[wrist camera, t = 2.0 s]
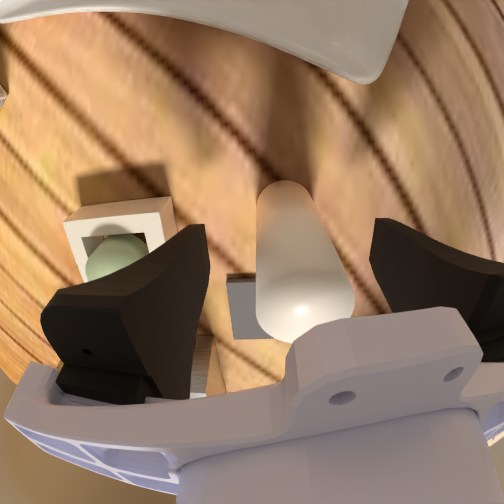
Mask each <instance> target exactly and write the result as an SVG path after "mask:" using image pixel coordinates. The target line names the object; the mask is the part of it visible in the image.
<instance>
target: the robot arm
mask: <svg viewBox="0 0 504 504" xmlns="http://www.w3.org/2000/svg"><path fill="white" fill-rule="evenodd" d="M369 261H370V264H371V267H372V270H373V273H374V275H375V278H376V280H377V282H378V284H379V286H380V288H381V290H382V292H383V294H384V296H385V298H386V300H387V302H388V304H389V306H390V308H391V310H392V312H393V313H390V314H382V315H373V316H363V317H353V318H342V319H338V320H334V321H330V322H326V323H323V324H319V325H316V326H314V327H313V328H311V329H310V330H308V331H307V332H305V333H304V334H303V335H301V336H300V337H298V338H297V339H295V340H294V341H293V343H292V345H291V348H290V350H289V352H288V354H287V356H286V364H285V375H284V379H283V381H282V382H279V383H275V384H270V385H266V386H261V387H257V388H252V389H247V390H242V391H237V392H231V393H226V394H220V395H214V396H207V397H201V398H194V399H190V387H191V372H192V362H193V352H194V344H195V336H196V330H197V326H198V322H199V318H200V314H201V310H202V307H203V303H204V299H205V295H206V292H207V288H208V282H209V274H210V260H209V253H208V247H207V240H206V233H205V225H204V224H193V225H188V226H187V227H185V228H184V229H182V230H181V231H180V232H178V233H177V234H176V235H174V236H173V237H172V238H170V239H169V240H168V241H166V242H165V243H164V244H162V245H161V246H159V247H158V248H156V249H155V250H153V251H152V252H150V253H149V254H147V255H146V256H144V257H143V258H141V259H139V260H137V261H136V262H134V263H132V264H130V265H128V266H126V267H124V268H122V269H119V270H117V271H115V272H113V273H111V274H108V275H106V276H103V277H101V278H98V279H95V280H92V281H89V282H86V283H82V284H79V285H75V286H71V287H67V288H63V289H58V290H57V292H56V293H55V295H54V296H53V297H52V299H51V300H50V301H49V303H48V304H47V306H46V307H45V308H44V310H43V312H42V313H41V319H40V322H41V326H42V330H43V332H44V334H45V336H46V338H47V340H48V341H49V343H50V344H51V346H52V347H53V349H54V350H55V352H56V353H57V355H58V356H59V358H60V359H61V361H62V362H63V363H64V365H63V367H62V369H61V371H59V370H57V369H56V368H54V367H52V366H49V365H45V364H41V363H37V362H33V361H32V362H30V363H29V365H28V367H27V368H26V370H25V372H24V374H23V376H22V378H21V380H20V382H19V383H18V385H17V387H16V389H15V391H14V393H13V395H12V397H11V399H10V402H9V404H8V406H7V408H6V410H5V412H4V415H3V416H4V418H5V419H6V420H7V421H8V422H9V423H10V424H11V425H13V426H14V427H15V428H16V429H17V430H18V431H20V432H21V433H22V434H23V435H24V436H25V437H27V438H28V439H29V440H31V441H32V442H33V443H34V444H36V445H37V446H38V447H40V448H41V449H42V450H44V451H45V452H47V453H49V454H51V455H53V456H56V457H58V458H61V459H63V460H66V461H68V462H70V463H73V464H76V465H78V466H80V467H83V468H86V469H88V470H91V471H93V472H96V473H99V474H102V475H105V476H108V477H111V478H114V479H117V480H120V481H123V482H127V483H130V484H133V485H137V486H140V487H144V488H148V489H152V490H156V491H160V492H165V493H170V494H175V495H177V499H176V504H504V497H503V493H502V489H501V485H500V482H499V478H498V474H497V471H496V468H495V464H494V461H493V458H492V455H491V452H490V449H489V446H488V443H487V441H488V440H490V439H491V438H493V437H495V436H496V435H498V434H499V433H501V432H503V431H504V263H501V262H496V261H492V260H488V259H484V258H480V257H477V256H474V255H471V254H468V253H465V252H462V251H460V250H457V249H455V248H452V247H449V246H447V245H445V244H443V243H441V242H438V241H436V240H434V239H432V238H430V237H428V236H426V235H424V234H422V233H420V232H418V231H416V230H414V229H412V228H410V227H408V226H406V225H404V224H402V223H400V222H398V221H395V220H393V219H390V218H375V225H374V232H373V238H372V244H371V250H370V256H369Z"/></svg>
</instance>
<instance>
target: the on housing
mask: <svg viewBox="0 0 504 504" xmlns="http://www.w3.org/2000/svg"><path fill="white" fill-rule="evenodd" d="M63 225H64V228H65V231H66V234H67V237H68V240H69V243H70V246H71V249H72V252H73V255H74V257H75V260H76V263H77V265H78V268H79V271H80V273H81V276H82V278H83V281H84V283H86V282H89V281H88V279H87V276H86V272H85V266H86V262H87V260H88V258H89V257H90V256H91V254H92V253H93V252H94V251H95V250H96V248H97V247H98V246H99V245H100V244H101V243H102V241H103V240H104V239H103V235H115V234H129V233H143V232H144V233H145V237H146V242H147V246H148V250H149V253H150V252H152V251H153V250H155V249H156V248H158V247H159V246H161V245H162V244H164V243H165V242H166V241H168V240H169V239H170V238H172V237H173V236H174V235H176V234H177V227H176V222H175V216H174V210H173V204H172V198H171V196H167V197H157V198H147V199H137V200H128V201H120V202H111V203H104V204H96V205H89V206H82V207H80V208H79V209H78V210H77V211H75V212H74V213H73V214H72V215H71V216H69V217H68V218H67V219H66V220H65V221H63Z"/></svg>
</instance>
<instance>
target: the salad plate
mask: <svg viewBox="0 0 504 504" xmlns="http://www.w3.org/2000/svg"><path fill="white" fill-rule="evenodd" d="M408 2H409V0H0V23H11V22H16V21H22V20H27V19H32V18H37V17H43V16H49V15H56V14H64V13H74V12H95V11H108V12H131V13H143V14H151V15H159V16H165V17H170V18H176V19H181V20H185V21H190V22H195V23H199V24H203V25H207V26H211V27H215V28H218V29H222V30H225V31H229V32H232V33H235V34H238V35H241V36H244V37H247V38H250V39H253V40H256V41H258V42H261V43H264V44H266V45H269V46H271V47H274V48H277V49H279V50H282V51H284V52H287V53H289V54H291V55H294V56H296V57H298V58H300V59H303V60H305V61H307V62H309V63H312V64H314V65H316V66H318V67H320V68H323V69H325V70H327V71H329V72H332V73H334V74H336V75H338V76H341V77H343V78H345V79H347V80H350V81H353V82H356V83H359V84H370V83H372V82H374V81H375V80H376V79H377V78H379V76H380V75H381V73H382V71H383V69H384V67H385V65H386V63H387V60H388V58H389V55H390V53H391V50H392V48H393V45H394V43H395V40H396V38H397V35H398V32H399V29H400V26H401V23H402V20H403V17H404V14H405V11H406V8H407V5H408Z"/></svg>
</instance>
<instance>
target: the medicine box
mask: <svg viewBox="0 0 504 504" xmlns="http://www.w3.org/2000/svg"><path fill="white" fill-rule="evenodd" d="M7 95H8V94H7V93H6V91H5V90H4V89H3V88H2V86H1V85H0V109H1V107H2V105H3V103H4V101H5V99H6V97H7Z"/></svg>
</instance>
